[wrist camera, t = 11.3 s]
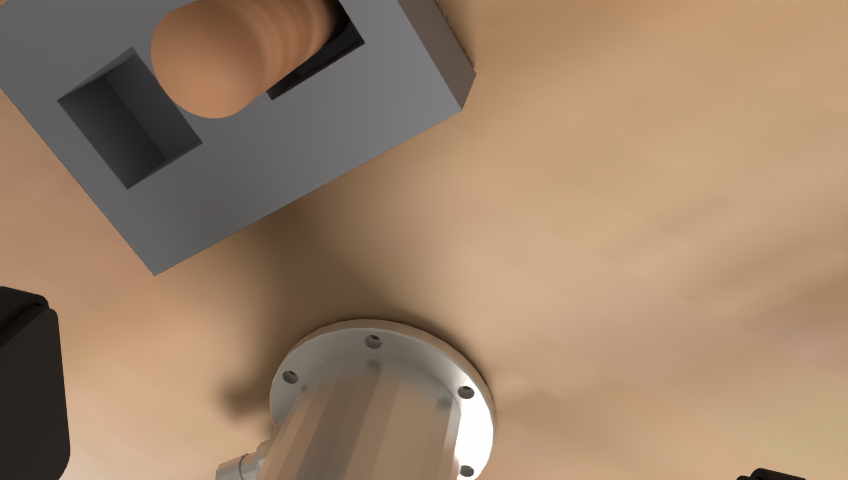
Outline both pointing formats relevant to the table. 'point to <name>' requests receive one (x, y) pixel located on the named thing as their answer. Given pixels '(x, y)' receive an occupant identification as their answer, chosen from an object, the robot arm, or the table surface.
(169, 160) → the bore block
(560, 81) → the table surface
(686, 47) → the table surface
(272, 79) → the dowel
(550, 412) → the table surface
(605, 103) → the table surface
